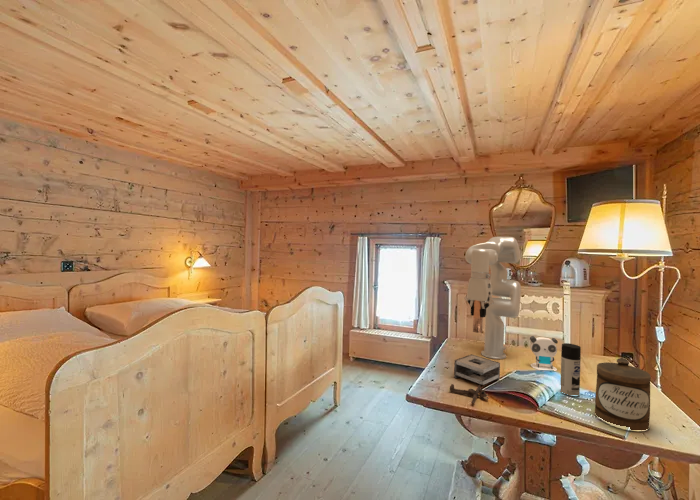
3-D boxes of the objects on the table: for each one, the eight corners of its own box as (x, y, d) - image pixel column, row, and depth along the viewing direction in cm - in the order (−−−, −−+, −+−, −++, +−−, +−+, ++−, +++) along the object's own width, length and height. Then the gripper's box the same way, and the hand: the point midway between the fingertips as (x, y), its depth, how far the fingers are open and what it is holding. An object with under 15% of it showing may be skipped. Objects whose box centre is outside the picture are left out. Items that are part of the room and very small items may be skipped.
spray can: (573, 398, 134) (575, 348, 134) (556, 391, 140) (558, 344, 140) (582, 395, 138) (584, 346, 137) (565, 388, 144) (567, 342, 143)
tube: (475, 330, 157) (477, 293, 157) (484, 332, 154) (485, 294, 154) (470, 331, 154) (472, 294, 154) (479, 333, 151) (480, 295, 151)
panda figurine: (531, 369, 165) (532, 339, 164) (527, 362, 176) (528, 333, 175) (559, 373, 161) (561, 342, 161) (553, 365, 172) (554, 336, 172)
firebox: (470, 370, 161) (471, 354, 161) (499, 380, 151) (500, 362, 150) (453, 377, 153) (454, 360, 152) (483, 388, 142) (483, 369, 142)
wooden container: (596, 423, 116) (599, 360, 115) (592, 406, 128) (595, 349, 128) (654, 438, 108) (657, 369, 107) (644, 418, 120) (646, 356, 120)
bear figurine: (455, 377, 147) (491, 381, 140) (455, 387, 146) (491, 391, 139) (445, 392, 131) (485, 398, 124) (445, 403, 131) (486, 410, 124)
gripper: (501, 277, 150) (500, 318, 150) (467, 274, 163) (466, 312, 163) (493, 278, 145) (491, 320, 145) (458, 274, 158) (457, 313, 158)
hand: (478, 315), depth 154 cm, fingers closed on tube, 4 cm apart
